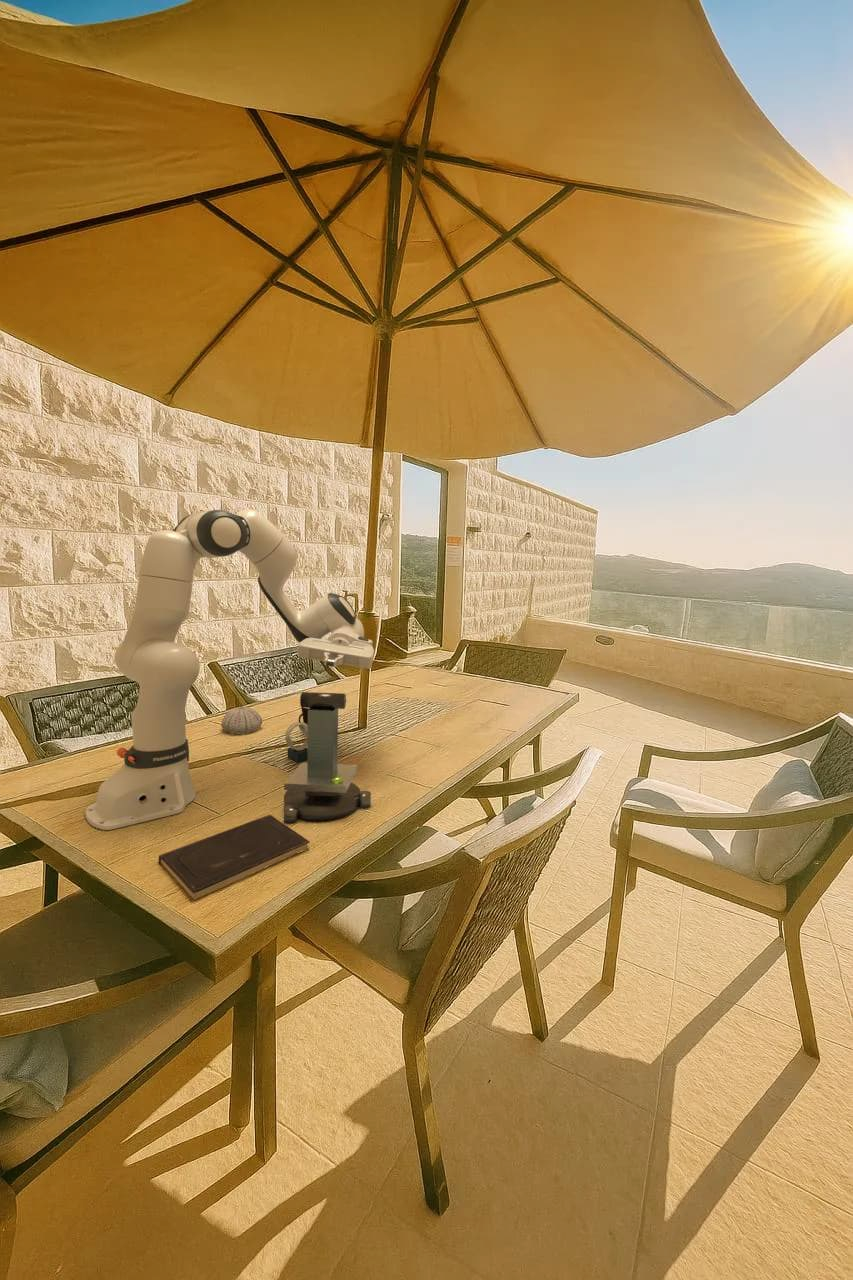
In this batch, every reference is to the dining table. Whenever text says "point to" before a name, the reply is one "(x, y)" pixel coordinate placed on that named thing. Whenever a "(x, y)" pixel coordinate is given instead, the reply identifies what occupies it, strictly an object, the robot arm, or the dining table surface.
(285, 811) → the tribrach base
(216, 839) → the hardcover book
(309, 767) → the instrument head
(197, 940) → the dining table surface
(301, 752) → the watch
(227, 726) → the sea urchin shell
